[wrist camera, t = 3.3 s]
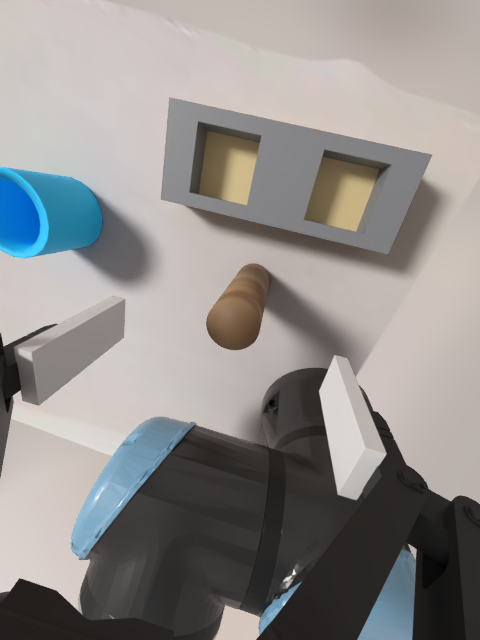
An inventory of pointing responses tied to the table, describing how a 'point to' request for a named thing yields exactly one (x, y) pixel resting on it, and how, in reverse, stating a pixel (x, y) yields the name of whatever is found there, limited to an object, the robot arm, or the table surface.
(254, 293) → the peg
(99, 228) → the mug
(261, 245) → the table surface
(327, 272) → the table surface
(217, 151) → the rail
